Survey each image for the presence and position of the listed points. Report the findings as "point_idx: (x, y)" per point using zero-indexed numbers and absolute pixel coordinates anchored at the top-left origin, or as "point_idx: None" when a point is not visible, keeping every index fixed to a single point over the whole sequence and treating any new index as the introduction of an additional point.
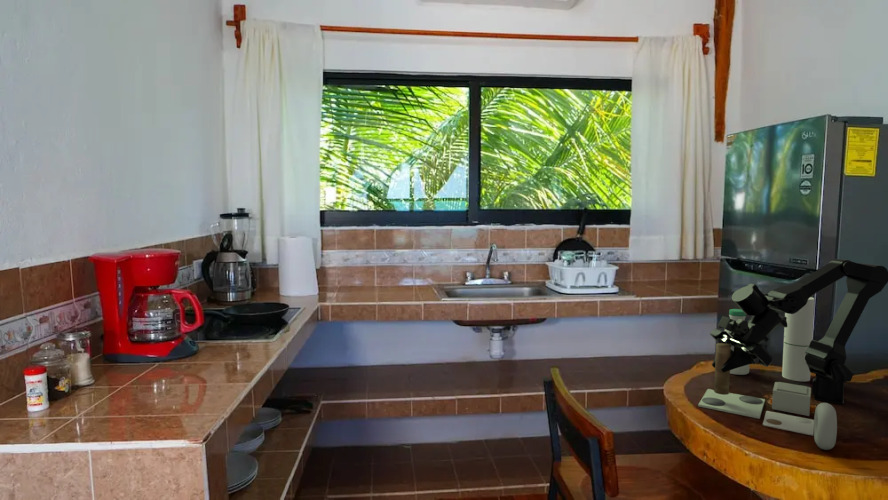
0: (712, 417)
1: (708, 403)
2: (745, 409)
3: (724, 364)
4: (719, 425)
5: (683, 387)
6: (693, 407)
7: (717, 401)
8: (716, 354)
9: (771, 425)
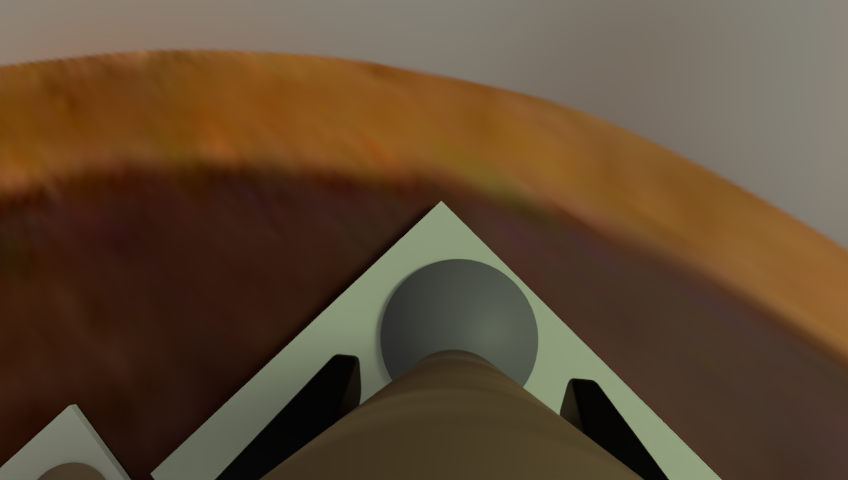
0: (264, 179)
1: (426, 269)
2: None
3: (315, 423)
4: (158, 144)
5: (834, 344)
6: (433, 165)
7: None
8: (490, 385)
9: (33, 444)
